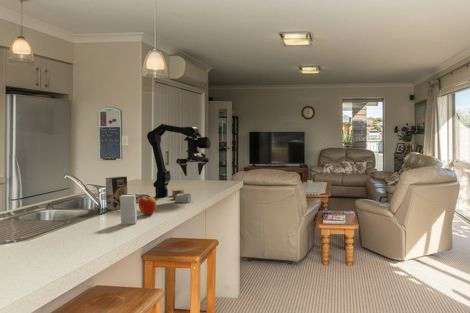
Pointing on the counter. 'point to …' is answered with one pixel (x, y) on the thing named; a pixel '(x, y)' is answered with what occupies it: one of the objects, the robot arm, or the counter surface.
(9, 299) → the counter surface
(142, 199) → the apple
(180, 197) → the base block
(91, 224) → the counter surface
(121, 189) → the coffee box
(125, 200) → the skincare box
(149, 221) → the counter surface
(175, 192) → the walnut cube
